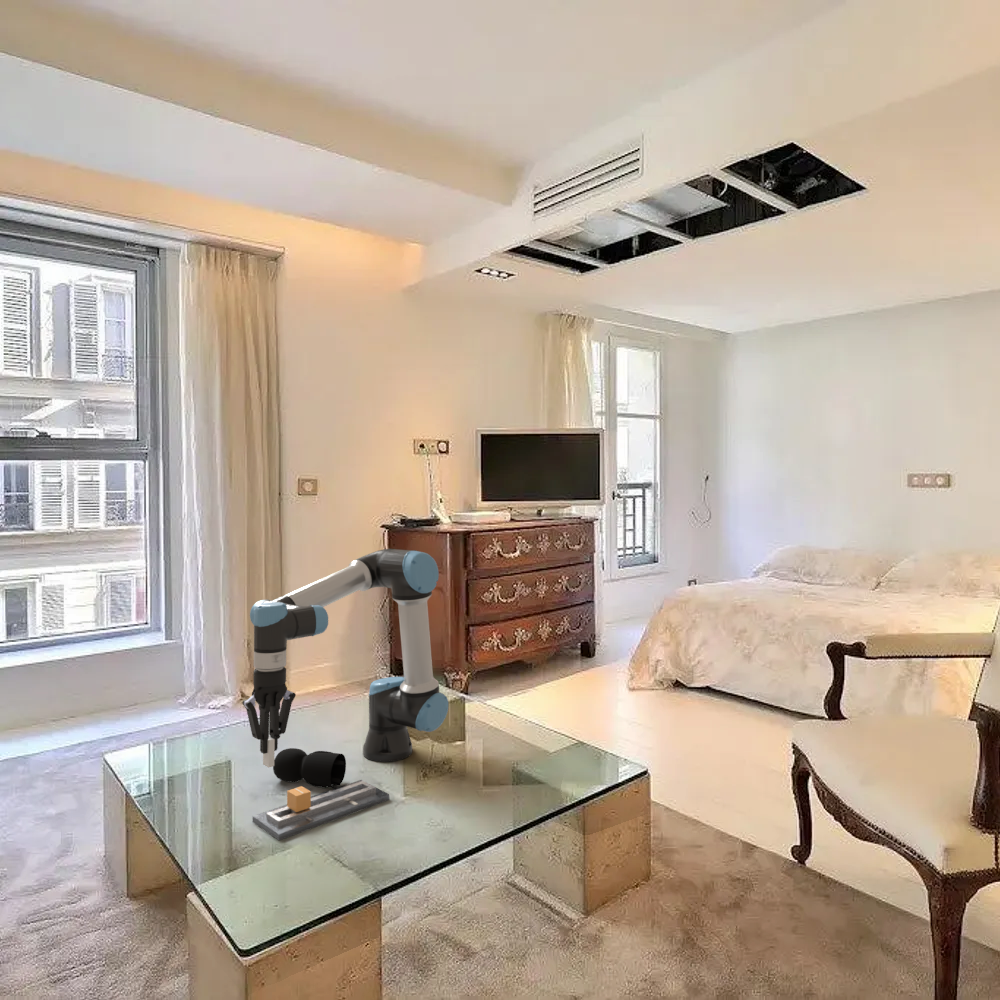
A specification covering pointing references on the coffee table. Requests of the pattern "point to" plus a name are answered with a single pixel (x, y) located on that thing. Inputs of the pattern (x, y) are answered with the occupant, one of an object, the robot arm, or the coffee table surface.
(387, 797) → the fader panel
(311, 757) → the black hourglass-shaped sleeve
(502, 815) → the coffee table surface
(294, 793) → the fader knob
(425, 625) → the robot arm
